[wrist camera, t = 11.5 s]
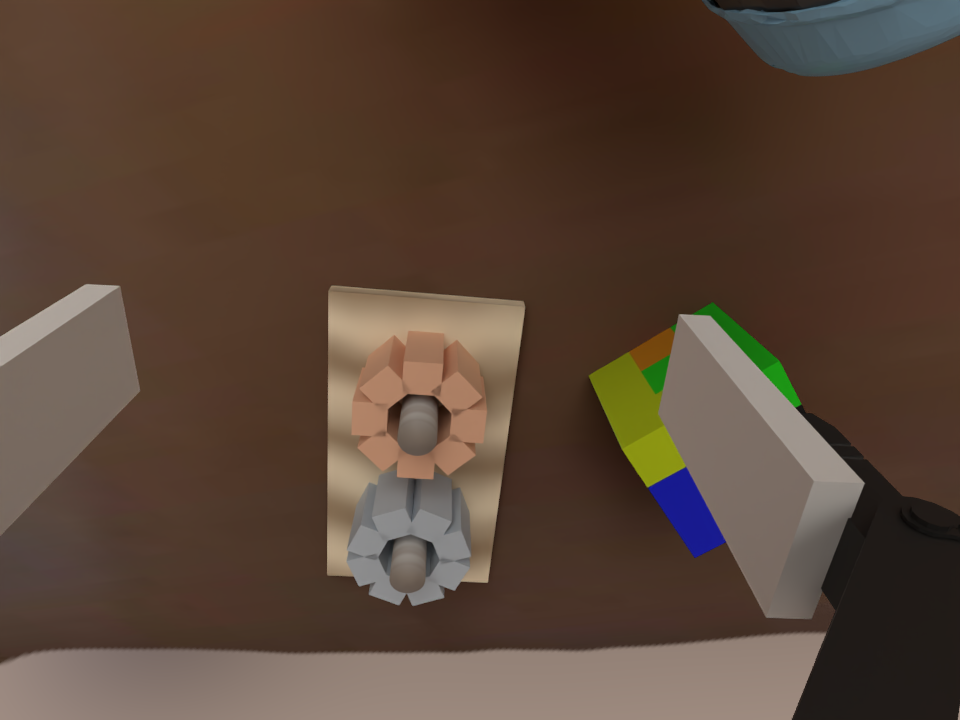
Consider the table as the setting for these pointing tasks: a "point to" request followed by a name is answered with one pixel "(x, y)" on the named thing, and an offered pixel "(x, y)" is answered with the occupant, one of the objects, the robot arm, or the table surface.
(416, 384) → the loose gear
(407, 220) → the table surface
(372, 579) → the gear
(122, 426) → the table surface
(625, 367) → the puzzle toy
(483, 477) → the gear board
